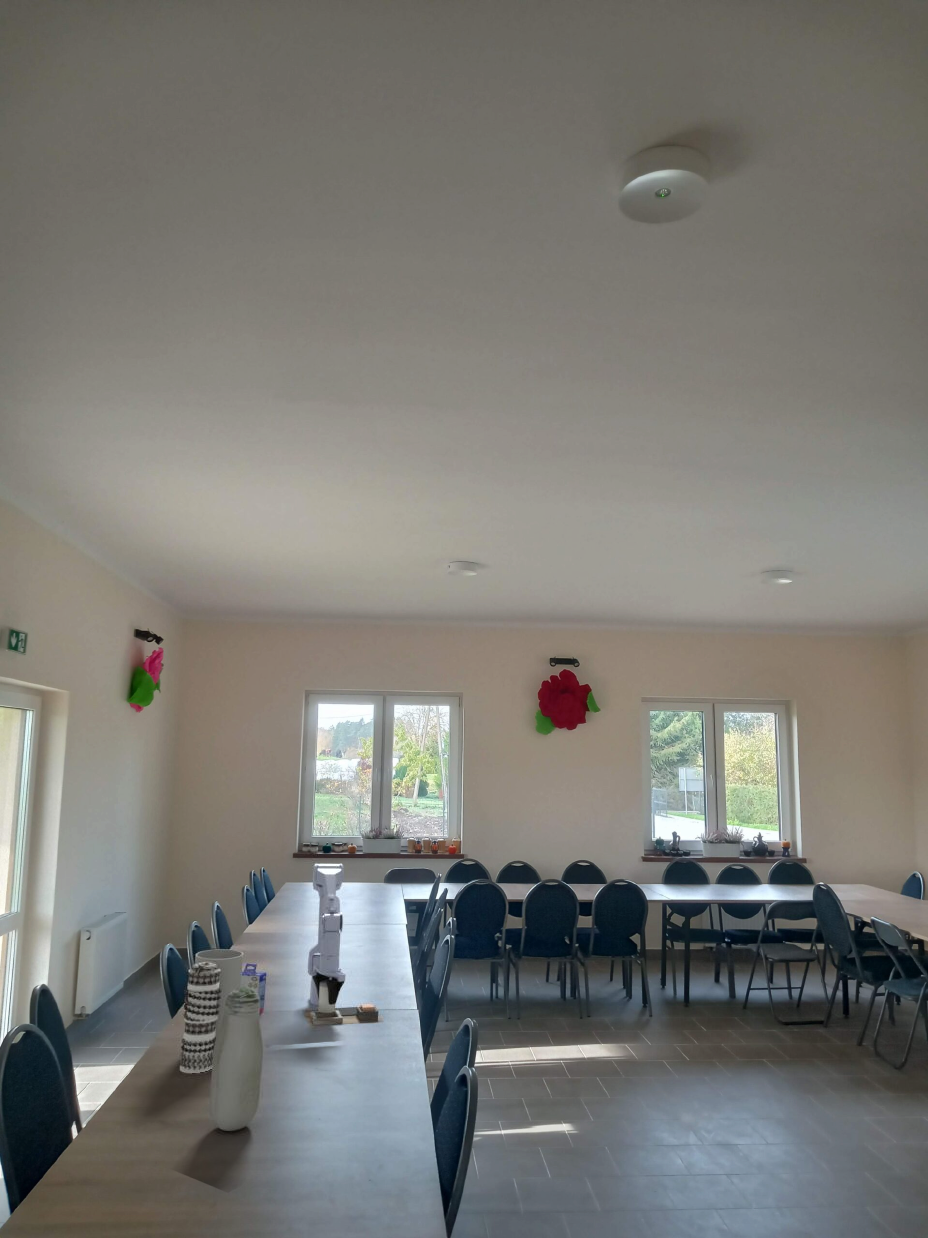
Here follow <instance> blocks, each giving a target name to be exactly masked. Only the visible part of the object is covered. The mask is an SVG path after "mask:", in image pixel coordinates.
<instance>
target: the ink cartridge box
mask: <svg viewBox="0 0 928 1238" xmlns="http://www.w3.org/2000/svg"><path fill="white" fill-rule="evenodd" d="M257 965H258V964H255V963H246V964H245V966H244V969H243V970H242V978H241V988H244V987H250V988H252V989H254V990H256V991H257V993H258V995H259V998H260V1011H259V1014H260V1013H263V1012H264V1011H265V1000H266V998H265V997H266V984H267V972H262V971H261V972H260V971H256V969H257ZM248 967H252V968H248Z"/></svg>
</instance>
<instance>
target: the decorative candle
mask: <svg viewBox="0 0 928 1238" xmlns="http://www.w3.org/2000/svg"><path fill="white" fill-rule="evenodd" d="M219 971H221V969H220V968H218V966H217V964H216V963H213V962H199V963H196V964H195V963H194V964H192V967H191V968H190V969H188V972H189V976H188V982H187V987H185V990H183V993H184V995H185V997H184V1005H183V1009H184V1013H183V1021H184V1023H185V1024H184V1030H183V1038H182V1039H181V1043H182V1045H181V1047H180V1048H181V1052H180V1060H179V1071H180V1072H182V1073H184V1074H192V1073H196V1074H201V1073H200V1072H204V1073H206V1072H205V1071H208V1070H210V1069H212V1062H213V1051H214V1045H215V1043H214V1042H215V1041H216V1037H215V1032H216V1029H215V1023H216V1020H217V1019H218V1015H217V1014H218V1013H219V1011H218V1010H216V1009H217V1008H218V1007H219V1006H220V1005H219V1004H218V1003H217V1000H219V999H220V998H221V997H220V996H219V995H218V994H219V993H221V990H220V989H218V988H219ZM210 1071H211V1070H210ZM208 1072H209V1071H208ZM192 1075H193V1074H192Z"/></svg>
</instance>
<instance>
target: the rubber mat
mask: <svg viewBox="0 0 928 1238" xmlns="http://www.w3.org/2000/svg"><path fill="white" fill-rule="evenodd" d="M357 1007H358V1006H353V1007H352V1006H350V1007H349V1006H346V1007H335V1010H338V1011H339V1012H340V1014H341V1016H354V1015H356V1012H357Z"/></svg>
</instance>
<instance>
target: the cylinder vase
mask: <svg viewBox="0 0 928 1238" xmlns="http://www.w3.org/2000/svg"><path fill="white" fill-rule="evenodd" d="M194 959H195V960H194V964H196V963H199V962H213V963H216V964H217V966H218V968H220V969H221V971H219V988H218V989H220V990H221V993H219V994H218V995H219V996H220V997H221V998H220V999H219V1000H217V1003H218V1004H219V1005H220V1006H219V1007H218V1008H217V1009H216V1010H218V1011H219V1013H218V1014H217V1015H218V1019H217V1020H216V1023H215V1029H216V1032H215V1037H216V1038H217V1035H218V1032H219V1030H220V1027H221V1023H222V1019H223V1015H224V1012H225V1001H226V998H227V997H228V995H229V994H230V993H231V992H232V991H233V990H235V989H238V988H241V978H242V971H243V964H244V963H243V962H244V952H242V951H239V950H236V949H228V948H227V949H226V948H225V949H223V948H220V949H219V948H218V949H209V950H208V949H207V950H202V951H198V952H197V953H195V958H194ZM215 1042H216V1041H215ZM215 1042H214V1043H215Z"/></svg>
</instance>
